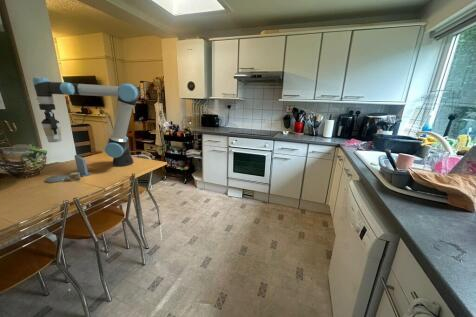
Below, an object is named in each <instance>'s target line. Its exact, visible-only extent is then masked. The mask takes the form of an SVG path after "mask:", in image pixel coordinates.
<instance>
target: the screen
mask: <svg viewBox="0 0 476 317" xmlns="http://www.w3.org/2000/svg"><path fill="white" fill-rule="evenodd" d="M73 157H74V160H75V164H76V169H75V170H74V173H75V172H80V177H82V178H85V177H89V176H91V175H92V173H91V172H90V171H88V166H87V161H86V159H85V158H84V157H81V155H78V154H75V155H74V156H73Z"/></svg>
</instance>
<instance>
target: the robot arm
mask: <svg viewBox="0 0 476 317" xmlns="http://www.w3.org/2000/svg"><path fill="white" fill-rule="evenodd" d="M32 83H33V87H34V91H35V94H36V98H35V99H36V100H37V103H38V106H39V109H40V111H44V112H43V114H44V119H47V120H49V121H50V124H51V130H52V134H53V138H54V139H59V135H58V131H57V128H58V127H57V124H56V120H57V119H56V117H55V113H54V112H53V111H54V110H56V105H55V100H54V97H53V95H64V96H65V95H66V96H70V95H72V96H74V95H77V96H78V95H79V96H94V97H95V96H96V97H111V98H112V97H114V98H117V100H116V101H117V102H118V107H117V112H116V116H115V120H114V124H113V130H112V133H111V134H112V135H110V136H108V140H107V143H106V145H104V146H105V148H104V151H105V153H106V155H107V156H109V158H112V166H114V167H127V166H130V165H132V164H134V159H133V157H132V155H131V150H130V144H129V138H128V136H127V133H128V128H129V125H130V119H131V116H132V112H133V108H134V107H136V105H137V102H138V99H139V98H140V97H141V91H140V89H139V87H137V85H135V84H131V83H123V84H119V86H118V85H117V86H115V85H103V84H89V83H88V84H87V83H86V84H85V83H71V82H67V81H66V82H65V81H64V82H63V81H50V80H49V79H48V78H46V77H45V78H44V77H33V78H32ZM55 119H56V120H55Z"/></svg>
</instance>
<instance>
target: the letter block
mask: <svg viewBox="0 0 476 317" xmlns="http://www.w3.org/2000/svg"><path fill="white" fill-rule="evenodd" d="M81 177H82V176H81V175H80V172H75V171H74V172H70V174H69V179H70V182H78V181H81V179H82V178H81Z"/></svg>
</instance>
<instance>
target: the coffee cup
mask: <svg viewBox="0 0 476 317" xmlns="http://www.w3.org/2000/svg"><path fill="white" fill-rule="evenodd" d="M55 120H56V124H57V127H58V128H57V131H58V135H59V139H54V138H53V134H52V130H51V124H50V121H49V120H47V119H46V118H43V119H42V121H41V123H40V124H41V126H42V128H43V129H42V130H43V132H44V134H45V137H46V139H47V142H48V143H60V142H62V141H63V140H62V131H61V126H60V121H59V120H57V119H56V118H55Z"/></svg>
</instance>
